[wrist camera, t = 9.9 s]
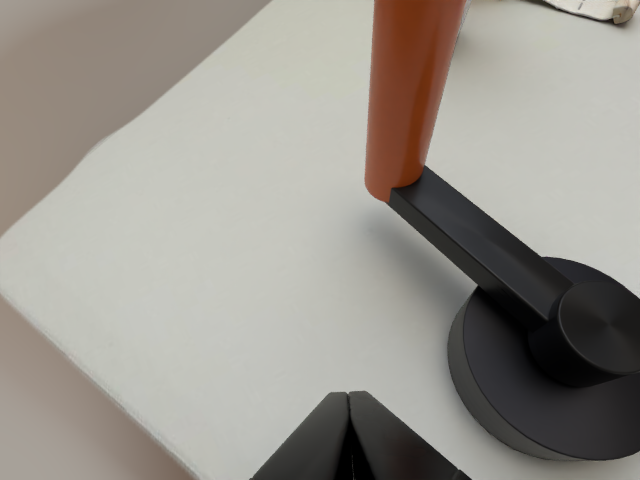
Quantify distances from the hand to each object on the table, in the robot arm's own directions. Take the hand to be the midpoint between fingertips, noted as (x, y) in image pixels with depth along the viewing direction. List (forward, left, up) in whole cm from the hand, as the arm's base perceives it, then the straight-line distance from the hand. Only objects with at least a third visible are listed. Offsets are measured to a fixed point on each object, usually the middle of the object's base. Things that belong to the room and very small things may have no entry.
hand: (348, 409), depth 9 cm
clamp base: (0, -9, -10) cm, 14 cm away
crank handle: (+5, -7, -7) cm, 11 cm away
